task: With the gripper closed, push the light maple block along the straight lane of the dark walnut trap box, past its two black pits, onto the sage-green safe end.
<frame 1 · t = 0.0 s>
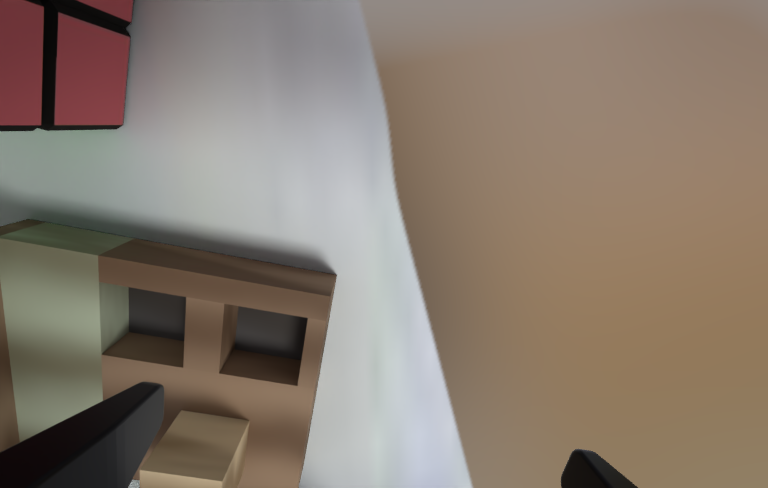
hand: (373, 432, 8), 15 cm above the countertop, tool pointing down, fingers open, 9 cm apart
maple block: (213, 441, 23), point 3 cm above the countertop, touching trap box
trap box: (182, 354, 24), on the countertop
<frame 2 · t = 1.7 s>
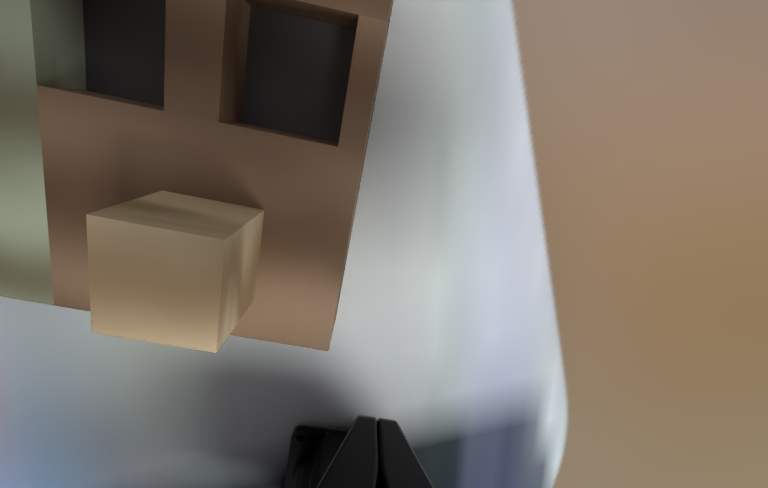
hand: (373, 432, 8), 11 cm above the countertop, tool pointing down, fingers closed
maple block: (210, 247, 15), point 3 cm above the countertop, touching trap box
trap box: (166, 140, 17), on the countertop
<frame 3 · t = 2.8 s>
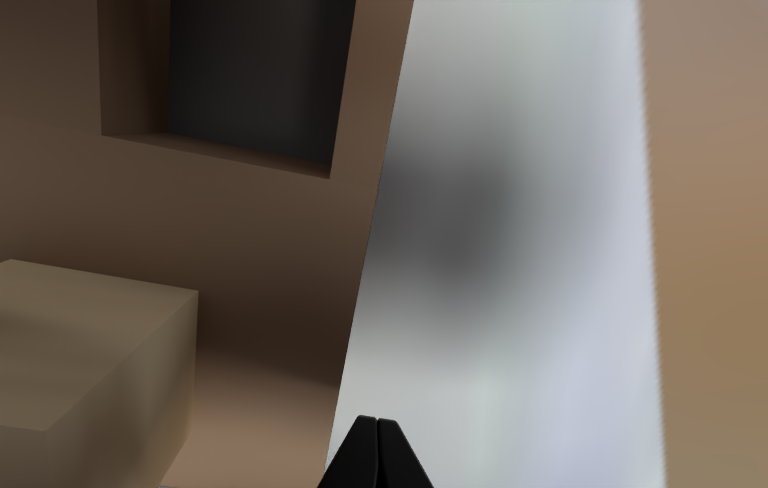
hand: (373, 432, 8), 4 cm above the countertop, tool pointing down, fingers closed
maple block: (108, 352, 9), point 3 cm above the countertop, touching trap box
trap box: (50, 162, 10), on the countertop
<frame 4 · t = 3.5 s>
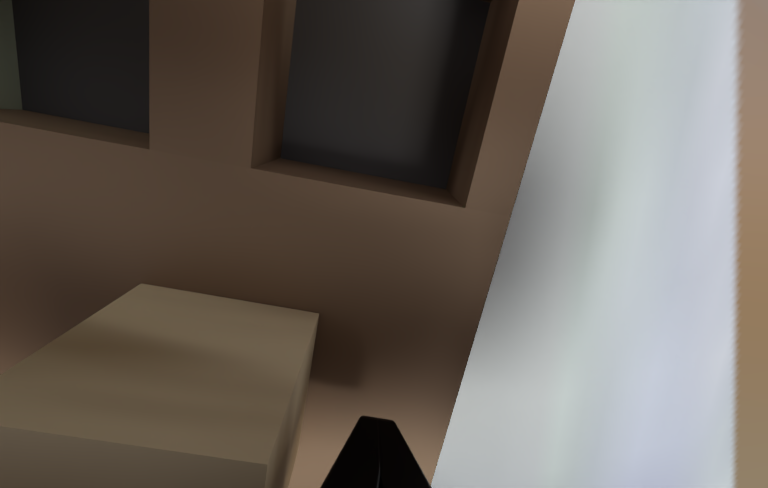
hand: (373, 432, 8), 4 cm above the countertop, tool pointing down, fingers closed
maple block: (225, 372, 9), point 3 cm above the countertop, touching gripper, trap box
trap box: (157, 186, 11), on the countertop
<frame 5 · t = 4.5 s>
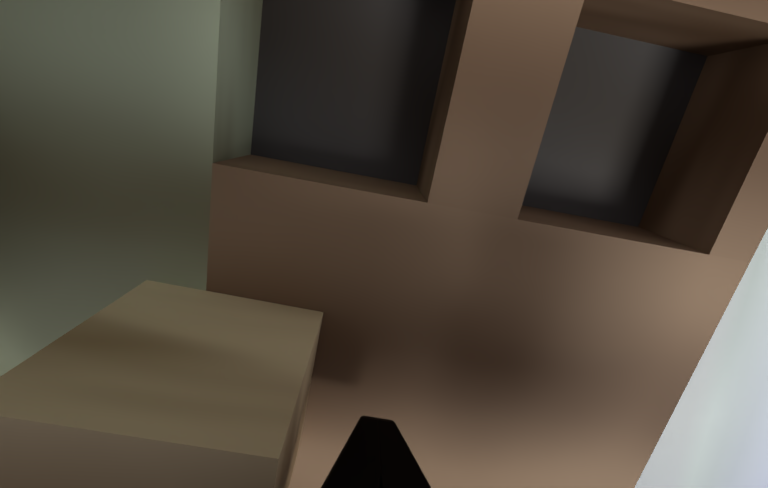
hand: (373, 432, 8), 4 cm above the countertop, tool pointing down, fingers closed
maple block: (229, 369, 9), point 3 cm above the countertop, touching gripper, trap box
trap box: (354, 222, 11), on the countertop
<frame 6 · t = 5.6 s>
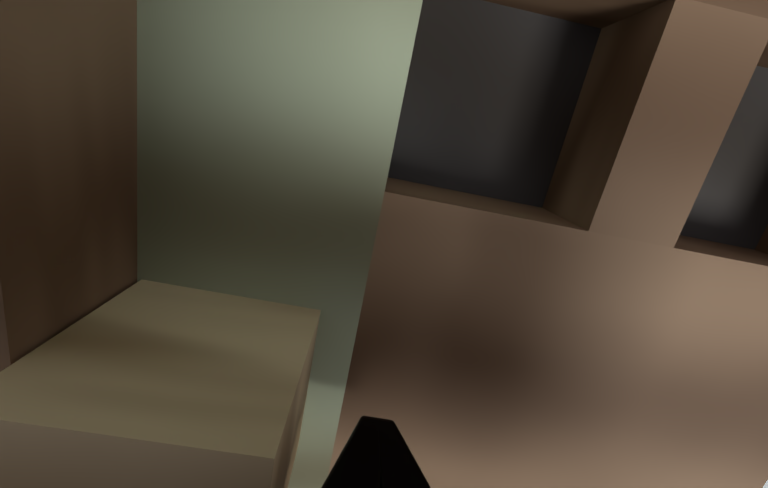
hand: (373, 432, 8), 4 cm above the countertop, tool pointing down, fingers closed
maple block: (226, 369, 9), point 3 cm above the countertop, touching gripper, trap box
trap box: (470, 242, 11), on the countertop
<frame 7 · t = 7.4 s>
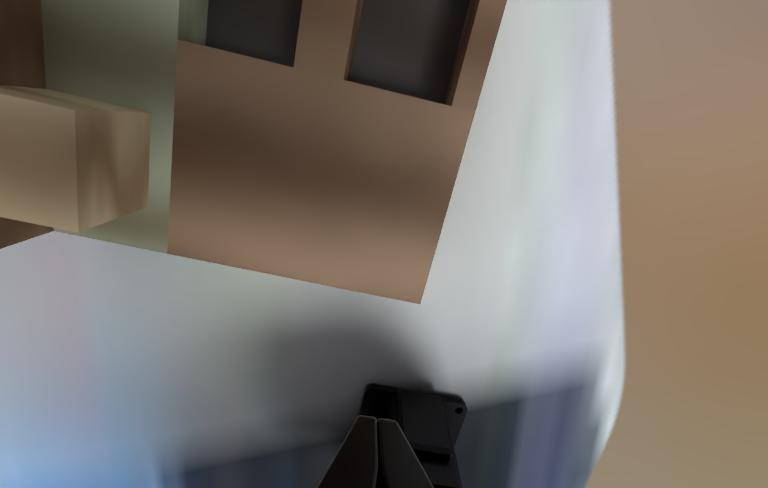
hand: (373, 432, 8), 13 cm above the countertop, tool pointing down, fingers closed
maple block: (100, 150, 16), point 3 cm above the countertop, touching trap box
trap box: (271, 101, 18), on the countertop
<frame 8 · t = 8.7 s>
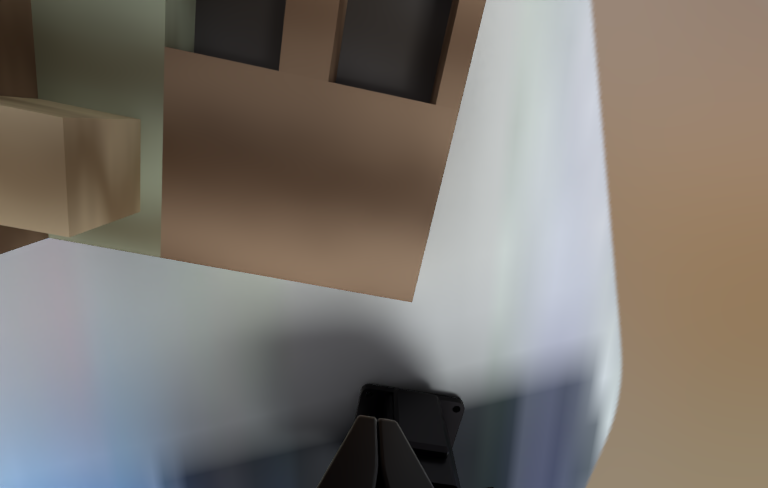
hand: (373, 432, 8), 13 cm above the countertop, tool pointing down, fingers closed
maple block: (92, 157, 16), point 3 cm above the countertop, touching trap box
trap box: (260, 105, 18), on the countertop
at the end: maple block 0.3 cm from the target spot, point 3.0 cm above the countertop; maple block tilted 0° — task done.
